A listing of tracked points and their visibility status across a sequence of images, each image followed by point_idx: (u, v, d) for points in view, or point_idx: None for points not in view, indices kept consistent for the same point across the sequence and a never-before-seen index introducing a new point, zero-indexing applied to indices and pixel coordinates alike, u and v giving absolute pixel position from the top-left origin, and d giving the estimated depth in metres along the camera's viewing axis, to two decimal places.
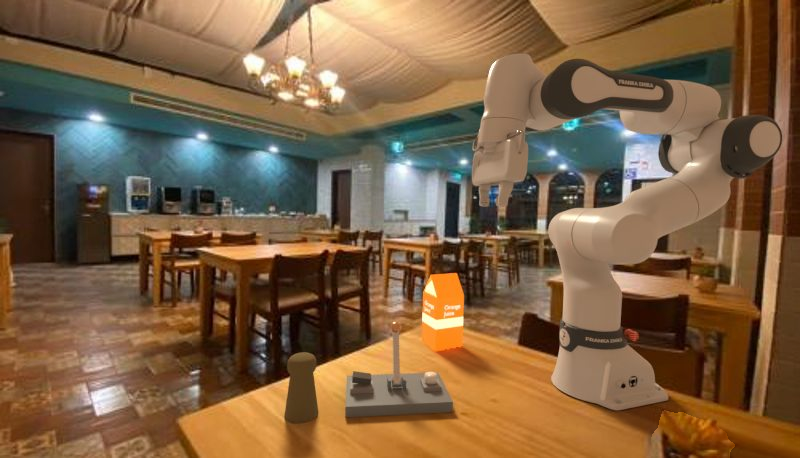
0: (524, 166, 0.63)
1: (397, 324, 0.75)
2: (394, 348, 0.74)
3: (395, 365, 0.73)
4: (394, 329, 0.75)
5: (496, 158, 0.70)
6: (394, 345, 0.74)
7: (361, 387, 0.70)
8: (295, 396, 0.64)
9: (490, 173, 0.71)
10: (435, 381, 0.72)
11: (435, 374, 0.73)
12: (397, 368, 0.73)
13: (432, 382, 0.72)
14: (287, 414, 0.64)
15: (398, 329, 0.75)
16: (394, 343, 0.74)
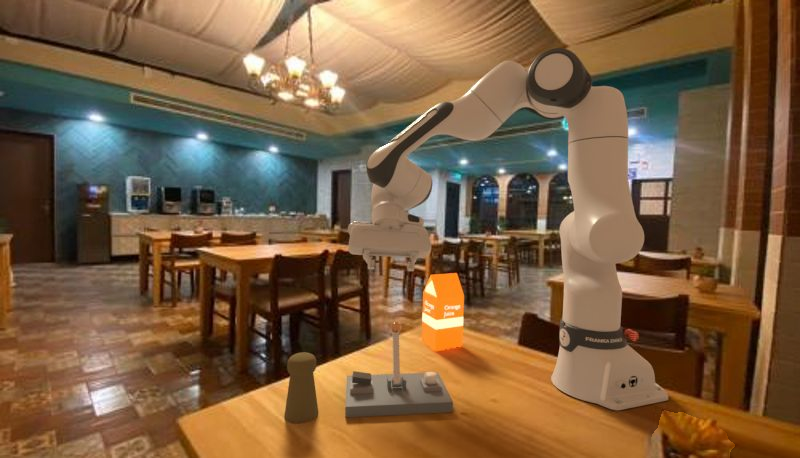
0: (349, 239, 0.86)
1: (397, 324, 0.75)
2: (394, 348, 0.74)
3: (395, 365, 0.73)
4: (394, 329, 0.75)
5: None
6: (394, 345, 0.74)
7: (361, 387, 0.70)
8: (295, 396, 0.64)
9: None
10: (435, 381, 0.72)
11: (435, 374, 0.73)
12: (397, 368, 0.73)
13: (432, 382, 0.72)
14: (287, 414, 0.64)
15: (398, 329, 0.75)
16: (394, 343, 0.74)
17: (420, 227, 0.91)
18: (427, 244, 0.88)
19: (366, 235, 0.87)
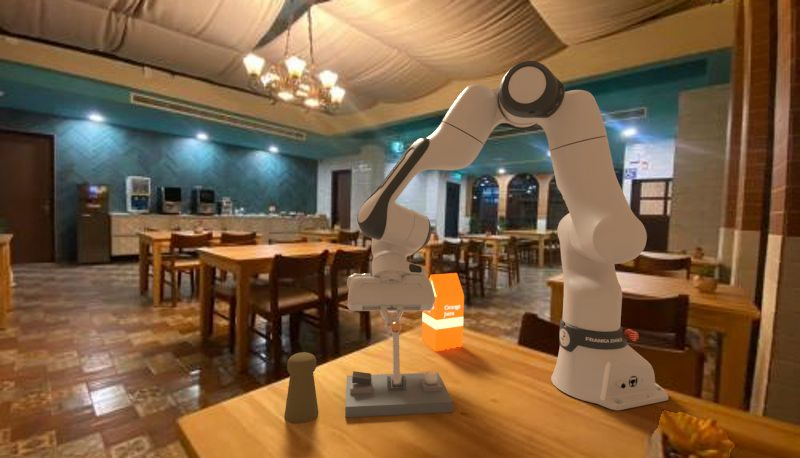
0: (348, 295, 0.82)
1: (397, 324, 0.75)
2: (394, 348, 0.74)
3: (395, 365, 0.73)
4: (394, 329, 0.75)
5: None
6: (394, 345, 0.74)
7: (361, 387, 0.70)
8: (295, 396, 0.64)
9: None
10: (435, 381, 0.72)
11: (435, 374, 0.73)
12: (397, 368, 0.73)
13: (432, 382, 0.72)
14: (287, 414, 0.64)
15: (398, 329, 0.75)
16: (394, 343, 0.74)
17: (422, 277, 0.86)
18: (430, 297, 0.84)
19: (365, 290, 0.83)
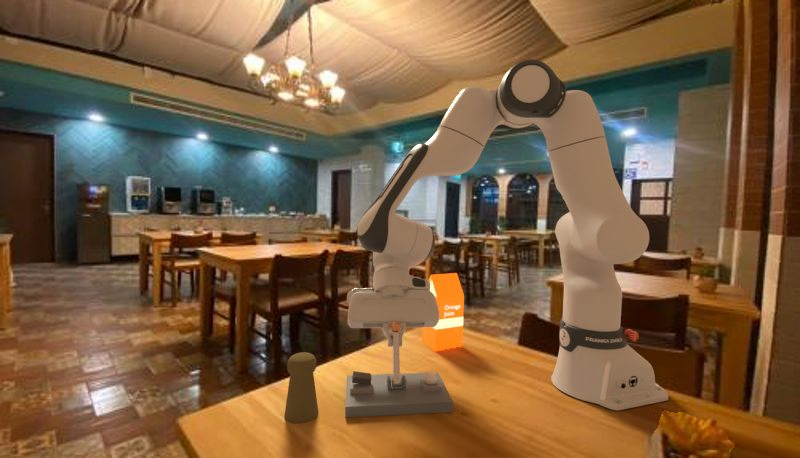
0: (348, 312, 0.78)
1: (398, 324, 0.75)
2: (394, 348, 0.74)
3: (395, 365, 0.73)
4: (394, 329, 0.74)
5: None
6: (394, 345, 0.74)
7: (361, 387, 0.70)
8: (295, 396, 0.64)
9: None
10: (435, 381, 0.72)
11: (435, 374, 0.73)
12: (397, 368, 0.73)
13: (432, 382, 0.72)
14: (287, 414, 0.64)
15: (398, 329, 0.74)
16: (394, 343, 0.74)
17: (426, 292, 0.82)
18: (435, 313, 0.79)
19: (366, 306, 0.79)
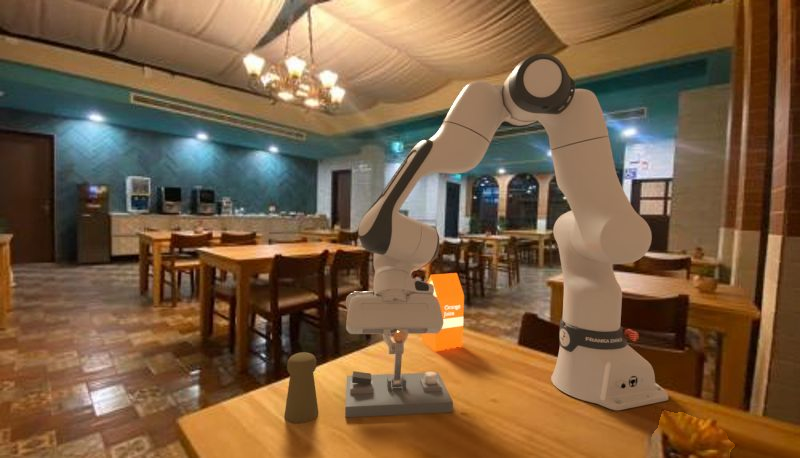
0: (347, 317, 0.74)
1: (402, 337, 0.68)
2: (396, 357, 0.70)
3: (396, 371, 0.71)
4: (398, 342, 0.68)
5: None
6: (396, 354, 0.70)
7: (361, 387, 0.70)
8: (295, 396, 0.64)
9: None
10: (435, 381, 0.72)
11: (435, 374, 0.73)
12: (398, 373, 0.71)
13: (432, 382, 0.72)
14: (287, 414, 0.64)
15: (402, 341, 0.69)
16: (396, 353, 0.70)
17: (430, 296, 0.78)
18: (438, 319, 0.75)
19: (366, 311, 0.75)
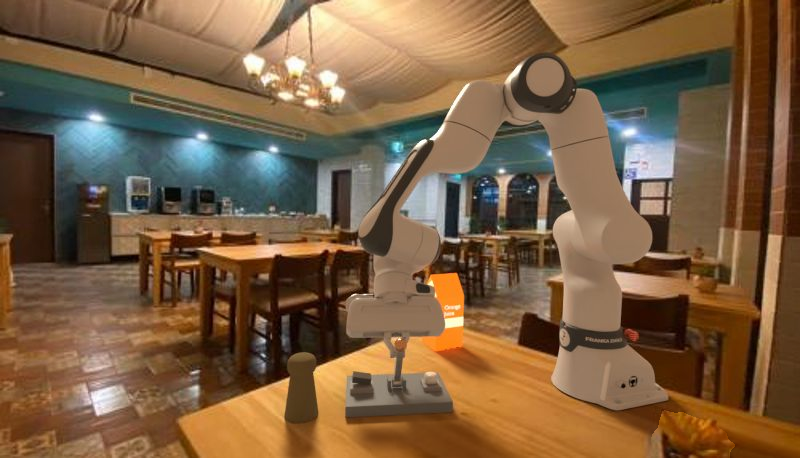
0: (347, 320, 0.73)
1: (403, 347, 0.66)
2: (397, 362, 0.69)
3: (396, 374, 0.70)
4: (399, 351, 0.66)
5: None
6: (397, 360, 0.68)
7: (361, 387, 0.70)
8: (295, 396, 0.64)
9: None
10: (435, 381, 0.72)
11: (435, 374, 0.73)
12: (398, 376, 0.71)
13: (432, 382, 0.72)
14: (287, 414, 0.64)
15: (403, 350, 0.67)
16: (397, 359, 0.68)
17: (431, 299, 0.76)
18: (440, 322, 0.74)
19: (367, 314, 0.73)
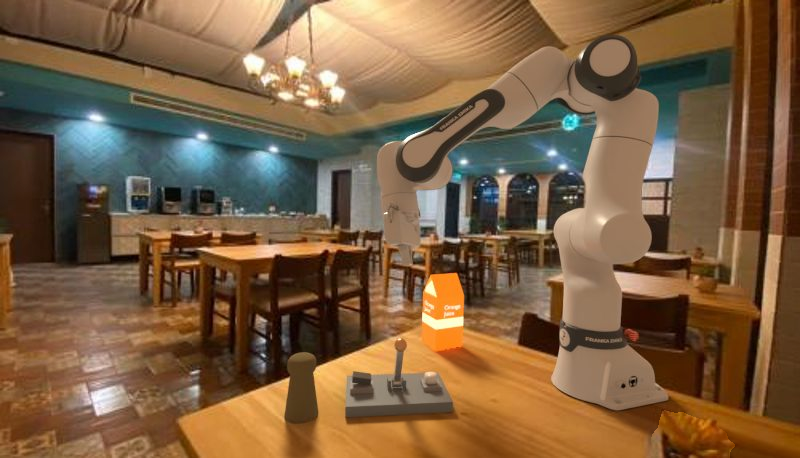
0: (396, 231, 0.76)
1: (403, 347, 0.66)
2: (397, 362, 0.69)
3: (396, 374, 0.70)
4: (399, 351, 0.66)
5: None
6: (397, 360, 0.68)
7: (361, 387, 0.70)
8: (295, 396, 0.64)
9: None
10: (435, 381, 0.72)
11: (435, 374, 0.73)
12: (398, 376, 0.71)
13: (432, 382, 0.72)
14: (287, 414, 0.64)
15: (403, 350, 0.67)
16: (397, 359, 0.68)
17: (418, 221, 0.94)
18: (419, 241, 0.94)
19: (404, 228, 0.80)
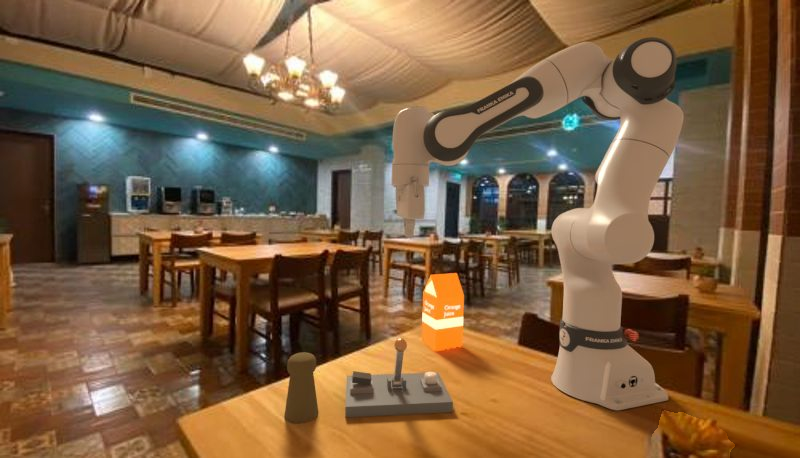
0: (421, 207, 0.76)
1: (403, 347, 0.66)
2: (397, 362, 0.69)
3: (396, 374, 0.70)
4: (399, 351, 0.66)
5: (405, 197, 0.82)
6: (397, 360, 0.68)
7: (361, 387, 0.70)
8: (295, 396, 0.64)
9: (402, 210, 0.84)
10: (435, 381, 0.72)
11: (435, 374, 0.73)
12: (398, 376, 0.71)
13: (432, 382, 0.72)
14: (287, 414, 0.64)
15: (403, 350, 0.67)
16: (397, 359, 0.68)
17: None
18: None
19: None
